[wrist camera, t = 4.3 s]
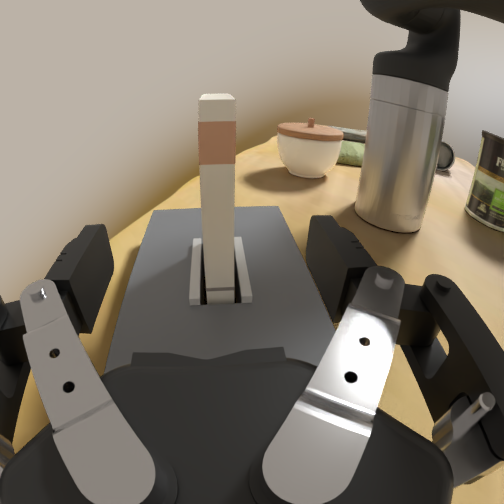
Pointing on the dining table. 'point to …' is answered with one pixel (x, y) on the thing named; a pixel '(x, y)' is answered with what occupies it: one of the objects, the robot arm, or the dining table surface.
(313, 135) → the lidded jar
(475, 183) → the coffee can
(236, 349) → the grey slotted block
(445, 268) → the dining table surface
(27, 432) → the dining table surface
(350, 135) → the long grey stone
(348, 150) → the washcloth
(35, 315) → the robot arm
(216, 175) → the banded cream bar
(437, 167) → the ceramic mug
